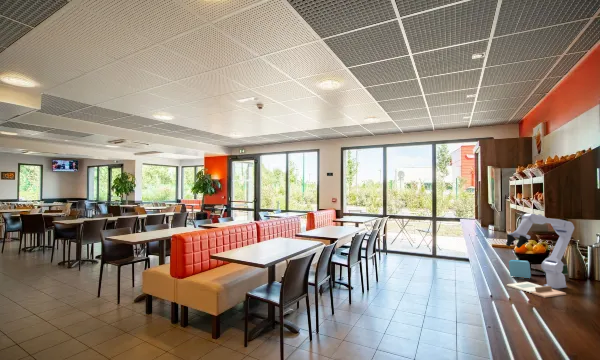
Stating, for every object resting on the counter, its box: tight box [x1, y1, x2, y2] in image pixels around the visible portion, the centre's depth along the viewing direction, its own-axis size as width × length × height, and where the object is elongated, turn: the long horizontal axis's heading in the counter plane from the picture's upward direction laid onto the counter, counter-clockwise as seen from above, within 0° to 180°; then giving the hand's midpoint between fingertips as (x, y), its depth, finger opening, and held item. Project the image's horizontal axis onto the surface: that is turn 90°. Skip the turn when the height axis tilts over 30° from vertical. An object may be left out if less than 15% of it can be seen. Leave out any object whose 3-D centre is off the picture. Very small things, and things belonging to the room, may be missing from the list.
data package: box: [508, 259, 532, 279], centre depth 219 cm, size 12×4×12 cm, turn 46°
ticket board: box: [506, 281, 543, 294], centre depth 194 cm, size 16×18×1 cm
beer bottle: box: [561, 255, 570, 282], centre depth 207 cm, size 8×8×24 cm
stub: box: [531, 285, 567, 299], centre depth 181 cm, size 15×8×4 cm, turn 99°
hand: (512, 246), depth 192 cm, fingers open, 7 cm apart
